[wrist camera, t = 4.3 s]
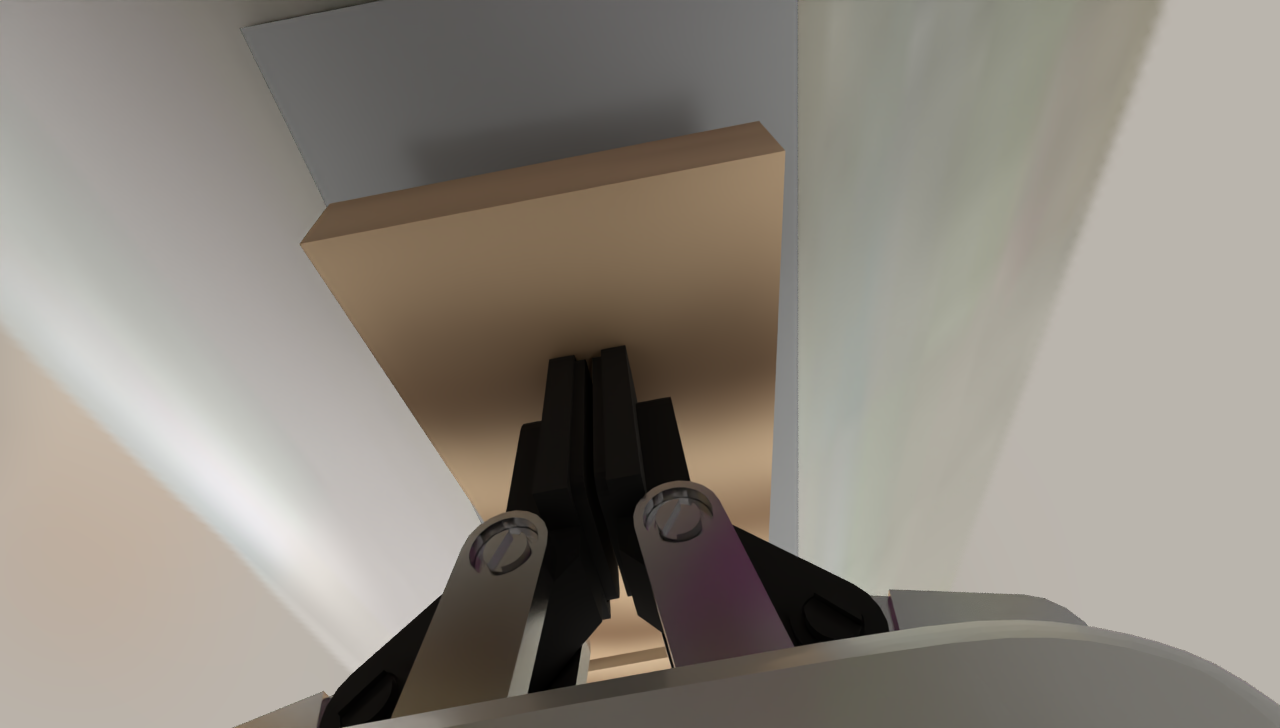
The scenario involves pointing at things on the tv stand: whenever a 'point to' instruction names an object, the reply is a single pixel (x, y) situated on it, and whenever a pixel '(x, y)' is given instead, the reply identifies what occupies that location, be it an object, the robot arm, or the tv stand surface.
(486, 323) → the plank
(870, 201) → the tv stand surface
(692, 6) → the plate
